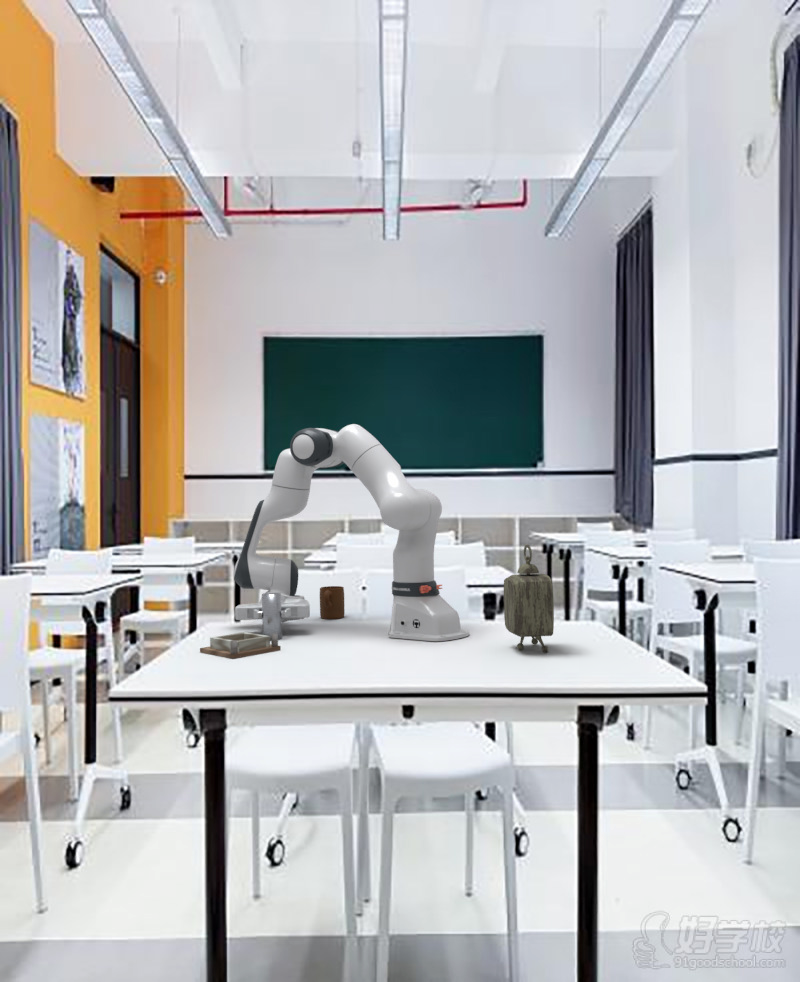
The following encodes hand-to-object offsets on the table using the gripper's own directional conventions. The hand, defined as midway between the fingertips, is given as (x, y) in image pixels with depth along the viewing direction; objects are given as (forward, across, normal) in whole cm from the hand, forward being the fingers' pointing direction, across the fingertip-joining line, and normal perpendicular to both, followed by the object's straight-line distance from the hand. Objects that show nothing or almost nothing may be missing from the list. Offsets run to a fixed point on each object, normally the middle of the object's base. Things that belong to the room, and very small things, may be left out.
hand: (271, 614), depth 227 cm
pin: (-1, 0, +6) cm, 7 cm away
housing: (+15, -7, +6) cm, 18 cm away
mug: (-34, +16, +7) cm, 39 cm away
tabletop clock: (+29, +62, +7) cm, 69 cm away
